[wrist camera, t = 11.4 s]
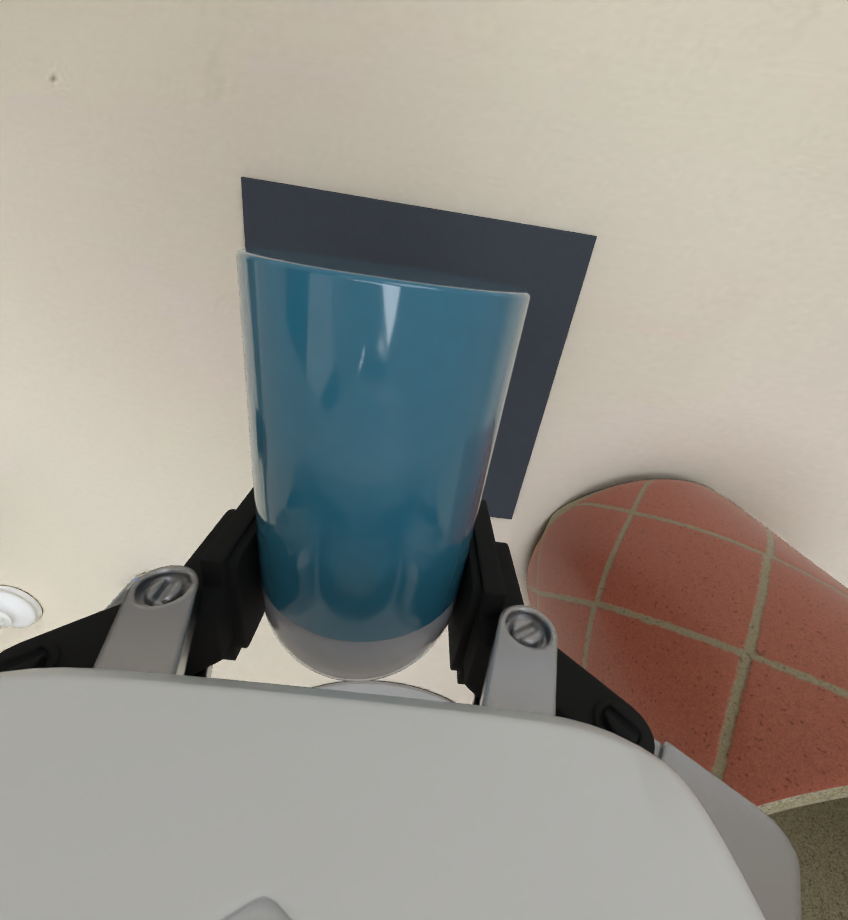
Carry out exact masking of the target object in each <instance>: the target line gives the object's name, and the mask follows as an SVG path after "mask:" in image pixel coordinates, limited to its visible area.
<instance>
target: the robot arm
mask: <svg viewBox="0 0 848 920" xmlns="http://www.w3.org/2000/svg"><path fill="white" fill-rule="evenodd" d="M264 612H265V610H264V606H263V600H262V592H261V578H260V566H259V552H258V539H257V526H256V512H255V499H254V487H253V488H252V490H251V491H250V492H249V494H248V495H247V496H246V497H245V499H244V500H243V501H242V503H241V504H240V505H239V507H238V508H237V509H236V510H235V509H231V510H228V511H227V512H226V513H225V515H224V516H223V517H222V518H221V520H220V521H219V522H218V523H217V525H216V526H215V527H214V529H213V530H212V531H211V532H210V534H209V535H208V536H207V537H206V539H205V540H204V541H203V542H202V544H201V545H200V546H199V547H198V549H197V550H196V551H195V553H194V554H193V555H192V556H191V558H190V559H189V560H188V561H187V563H186V564H185V565H184V566H173V565H171V566H165V567H160V568H157V569H155V570H152V571H149V572H148V573H146V574H144V575H142V576H140V577H139V578H138V579H137V580H136V581H135V582H133V583H132V585H131V586H130V588H129V589H128V591H127V593H126V595H125V597H124V599H123V602H122V603H121V604H118V605H116V606H113V607H111V608H108V609H106V610H103V611H100V612H98V613H95V614H93V615H90V616H88V617H85V618H82V619H80V620H77V621H75V622H72V623H70V624H67V625H65V626H62V627H59V628H57V629H54V630H52V631H49V632H47V633H44V634H41V635H39V636H36V637H34V638H31V639H29V640H26V641H23V642H21V643H19V644H17V645H14V646H12V647H10V648H8V649H6V650H4V651H3V652H1V653H0V920H801V886H800V867H799V862H798V858H797V854H796V852H795V850H794V848H793V846H792V844H791V843H790V841H789V839H788V837H787V836H786V835H785V833H784V832H783V831H782V830H781V828H780V827H779V826H778V825H777V823H776V822H775V821H774V820H773V819H771V818H770V817H769V816H768V815H767V814H766V813H765V812H764V811H762V810H761V809H760V808H759V807H757V806H756V805H754V804H753V803H752V802H750V801H749V800H747V799H746V798H745V797H743V796H742V795H741V794H739V793H738V792H736V791H735V790H734V789H732V788H731V787H730V786H728V785H727V784H725V783H724V782H723V781H721V780H720V779H719V778H717V777H716V776H714V775H713V774H712V773H710V772H709V771H707V770H706V769H705V768H703V767H702V766H701V765H699V764H698V763H696V762H695V761H694V760H692V759H691V758H690V757H688V756H687V755H685V754H684V753H683V752H681V751H680V750H678V749H677V748H676V747H674V746H673V745H672V744H670V743H669V742H667V741H665V742H664V744H661V743H660V742H659V741H657V740H656V739H654V737H653V734H652V732H651V730H650V728H649V726H648V724H647V723H646V721H645V720H644V719H643V717H642V716H641V715H640V714H639V713H638V712H637V711H636V710H635V709H634V708H633V707H632V706H631V705H629V704H628V703H627V702H626V701H624V700H623V699H622V698H621V697H619V696H618V695H617V694H615V693H614V692H613V691H612V690H610V689H609V688H608V687H607V686H605V685H604V684H603V683H602V682H600V681H599V680H598V679H596V678H595V677H594V676H593V675H591V674H590V673H589V672H588V671H586V670H585V669H584V668H583V667H581V666H580V665H579V664H577V663H576V662H575V661H574V660H572V659H571V658H570V657H569V656H567V655H566V654H565V653H564V652H562V651H561V650H560V649H559V648H557V632H556V629H555V628H554V626H553V624H552V622H551V621H550V620H549V619H548V618H547V617H546V616H545V615H544V614H542V613H541V612H540V611H538V610H536V609H534V608H532V607H528V606H524V603H523V599H522V595H521V592H520V588H519V584H518V580H517V577H516V573H515V569H514V565H513V561H512V558H511V554H510V550H509V547H508V544H506V543H501V542H495V538H494V534H493V529H492V525H491V520H490V516H489V511H488V507H487V502H486V500H482V499H481V502H480V506H479V511H478V515H477V519H476V523H475V527H474V531H473V535H472V539H471V544H470V548H469V552H468V556H467V560H466V564H465V568H464V572H463V576H462V581H461V585H460V588H459V591H458V597H457V601H456V605H455V608H454V611H453V614H452V616H451V618H450V621H449V623H448V631H449V653H450V668H451V670H457V681H458V684H465V685H466V686H467V687H468V688H469V689H470V690H471V691H472V692H473V693H474V697H473V701H472V705H471V704H461V703H452V702H443V701H433V700H424V699H415V698H405V697H396V696H387V695H377V694H367V693H358V692H348V691H338V690H328V689H318V688H308V687H299V686H289V685H279V684H269V683H258V682H248V681H238V680H227V679H217V678H211V673H212V665H213V664H215V663H217V662H219V661H221V660H222V659H227V660H236V658H237V656H238V654H239V652H240V650H241V648H247V647H248V646H249V644H250V642H251V640H252V638H253V636H254V634H255V632H256V630H257V627H258V625H259V623H260V621H261V619H262V617H263V614H264Z"/></svg>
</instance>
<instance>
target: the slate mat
mask: <svg viewBox="0 0 848 920" xmlns="http://www.w3.org/2000/svg"><path fill="white" fill-rule="evenodd" d="M241 183H242V200H243V217H244V233H245V249H247V248H251V249H269V250H280V251H290V252H300V253H309V254H317V255H325V256H333V257H341V258H349V259H356V260H363V261H370V262H377V263H384V264H391V265H398V266H404V267H411V268H417V269H423V270H429V271H435V272H441V273H447V274H453V275H459V276H464V277H470V278H475V279H481V280H486V281H491V282H496V283H500V284H505V285H509V286H513V287H517V288H521V289H524V290H526V291H527V292H529V293H530V301H529V305H528V309H527V313H526V317H525V321H524V325H523V329H522V333H521V338H520V342H519V346H518V350H517V354H516V358H515V362H514V366H513V371H512V375H511V379H510V383H509V387H508V391H507V395H506V399H505V404H504V408H503V412H502V416H501V420H500V424H499V428H498V432H497V436H496V441H495V445H494V449H493V453H492V457H491V461H490V465H489V469H488V474H487V478H486V482H485V486H484V490H483V494H482V498H481V499H482V500H486V502H487V507H488V511H489V516H490V517H497V518H505V519H512V516H513V513H514V509H515V506H516V503H517V499H518V496H519V493H520V489H521V486H522V483H523V480H524V476H525V473H526V470H527V466H528V463H529V460H530V456H531V453H532V450H533V446H534V443H535V440H536V436H537V433H538V430H539V427H540V423H541V420H542V417H543V413H544V410H545V407H546V403H547V400H548V397H549V393H550V390H551V387H552V384H553V380H554V377H555V374H556V370H557V367H558V364H559V360H560V357H561V354H562V350H563V347H564V344H565V340H566V337H567V334H568V331H569V327H570V324H571V321H572V317H573V314H574V311H575V307H576V304H577V301H578V297H579V294H580V291H581V288H582V284H583V281H584V278H585V274H586V271H587V268H588V264H589V261H590V258H591V254H592V251H593V248H594V244H595V241H596V238H597V236H592V235H586V234H581V233H575V232H569V231H563V230H557V229H551V228H545V227H539V226H533V225H527V224H521V223H515V222H509V221H503V220H497V219H491V218H485V217H479V216H473V215H467V214H461V213H455V212H449V211H443V210H437V209H431V208H425V207H419V206H414V205H408V204H402V203H396V202H390V201H384V200H378V199H372V198H366V197H360V196H354V195H348V194H342V193H336V192H330V191H324V190H318V189H312V188H306V187H300V186H294V185H288V184H282V183H276V182H270V181H264V180H258V179H252V178H246V177H241Z"/></svg>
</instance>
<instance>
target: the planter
mask: <svg viewBox="0 0 848 920" xmlns="http://www.w3.org/2000/svg"><path fill="white" fill-rule="evenodd" d="M527 590H528V596H529V601H530V605H531V607H532V608H534V609H536V610H538V611H540V612H541V613H542V614H544V615H545V616H546V617H547V618H548V619H549V620H550V621H551V622H552V624H553V626H554V628H555V629H556V632H557V648H559V649H560V650H561V651H562V652H564V653H565V654H566V655H567V656H569V657H570V658H571V659H572V660H574V661H575V662H576V663H577V664H579V665H580V666H581V667H583V668H584V669H585V670H586V671H588V672H589V673H590V674H591V675H593V676H594V677H595V678H596V679H598V680H599V681H600V682H602V683H603V684H604V685H605V686H607V687H608V688H609V689H610V690H612V691H613V692H614V693H615V694H617V695H618V696H619V697H621V698H622V699H623V700H624V701H626V702H627V703H628V704H629V705H631V706H632V707H633V708H634V709H635V710H636V711H637V712H638V713H639V714H640V715H641V716H642V717H643V719H644V720H645V721H646V723H647V724H648V726H649V728H650V730H651V732H652V734H653V737H654V739H656V740H657V741H659V742H660V743H661V744H664V742H665V741H667V742H669V743H670V744H672V745H673V746H674V747H676V748H677V749H678V750H680V751H681V752H683V753H684V754H685V755H687V756H688V757H690V758H691V759H692V760H694V761H695V762H696V763H698V764H699V765H701V766H702V767H703V768H705V769H706V770H707V771H709V772H710V773H712V774H713V775H714V776H716V777H717V778H719V779H720V780H721V781H723V782H724V783H725V784H727V785H728V786H730V787H731V788H732V789H734V790H735V791H736V792H738V793H739V794H741V795H742V796H743V797H745V798H746V799H747V800H749V801H750V802H752V803H753V804H754V805H756V806H757V807H759V808H760V809H761V810H762V811H764V812H765V813H766V814H767V815H768V816H769V817H770V818H771V819H773V820H774V821H775V822H776V823H777V825H778V826H779V827H780V828H781V830H782V831H783V832H784V833H785V835H786V836H787V837H788V839H789V841H790V843H791V844H792V846H793V848H794V850H795V852H796V854H797V858H798V862H799V867H800V886H801V920H848V588H846V587H845V586H843V585H842V584H841V583H839V582H838V581H837V580H835V579H834V578H833V577H831V576H830V575H829V574H827V573H826V572H825V571H823V570H822V569H821V568H819V567H818V566H817V565H815V564H814V563H813V562H811V561H810V560H809V559H807V558H806V557H805V556H803V555H802V554H801V553H799V552H798V551H797V550H795V549H794V548H793V547H791V546H790V545H789V544H787V543H786V542H785V541H783V540H782V539H781V538H779V537H778V536H777V535H775V534H774V533H773V532H771V531H770V530H769V529H767V528H766V527H765V526H763V525H762V524H761V523H759V522H758V521H757V520H755V519H754V518H753V517H751V516H750V515H749V514H747V513H746V512H745V511H743V510H742V509H741V508H739V507H738V506H737V505H735V504H734V503H733V502H731V501H730V500H728V499H727V498H725V497H724V496H722V495H720V494H719V493H717V492H715V491H713V490H712V489H710V488H708V487H706V486H704V485H701V484H698V483H694V482H689V481H682V480H673V479H650V480H641V481H634V482H629V483H624V484H620V485H616V486H613V487H609V488H606V489H603V490H600V491H597V492H594V493H591V494H589V495H586V496H584V497H581V498H579V499H577V500H575V501H573V502H571V503H569V504H567V505H565V506H563V507H562V508H560V509H559V510H557V511H556V512H555V513H554V514H553V515H552V516H551V518H550V519H549V521H548V524H547V526H546V529H545V531H544V533H543V535H542V537H541V538H540V540H539V542H538V544H537V545H536V547H535V549H534V551H533V554H532V556H531V559H530V562H529V566H528V571H527Z"/></svg>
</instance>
